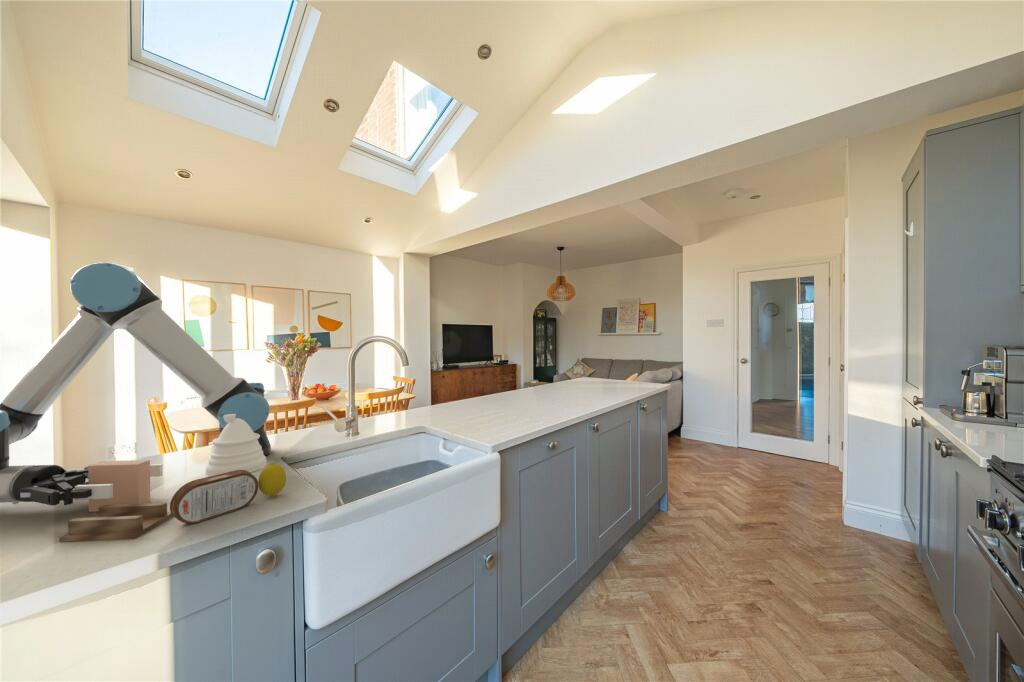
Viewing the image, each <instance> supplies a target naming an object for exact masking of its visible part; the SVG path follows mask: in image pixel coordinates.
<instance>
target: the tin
mask: <svg viewBox="0 0 1024 682" xmlns="http://www.w3.org/2000/svg"><path fill="white" fill-rule="evenodd" d="M258 491H259V485H258V480H257V479H256V477H255V476H253V475H252V474H251V473H250V472H248V471H246V470H235V471H231V472H227V473H223V474H218V475H214V476H210V477H206V476H205V477H202V478H197V479H194V480H191V481H189V482H187V483H185V484H183V485H182V486H181V487H179V489H178V490H176V491H175V493H174V494H173V496H172V498H171V500H170V504H169V512H171V514H172V515H173V517H174V518H175V519H176V520H178V521H179V522H181V523H184V524H198V523H201V521H202V522H204V521H208V520H210V519H214V518H217V517H220V515H221V516H223V515H227V514H229V513H233V512H236V511H239V510H242V509H244V508H246V507H247V506H248V505H249V504H251V502H252V501H253V500H254V499H255V497H256V496H257V494H258Z"/></svg>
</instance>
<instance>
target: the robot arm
mask: <svg viewBox="0 0 1024 682" xmlns="http://www.w3.org/2000/svg"><path fill="white" fill-rule="evenodd" d="M69 288H70V289H69V290H70V292H71V294H72V296H73V298H74V300H76V302H77V303H78V304H80V305H78V307H77V308H76V310H77V312H78V314H77V316H76V317H75V318H74V319H73V320H72V321H71V322H70V324H69V325H68V326H67V327H66V328H65V329H64V330H63V332H62V333H61V334H60V335H59V337H57V339H56V340H55V341H54V342H53V343H52V344H51V345H50V346H49V348H48V349H46V351H45V352H44V353H43V355H41V357H40V358H39V359H38V360H37V361H36V362H35V363H34V365H33V366H32V367H30V370H28V372H27V373H25V375H24V376H23V378H21V380H20V381H19V382H18V383H17V384H16V385H15V386H14V387H13V389H12V390H11V391H10V392H9V393H8V394H7V395H6V396H5V398H4V399H3V400H2V401H1V402H0V504H2V503H3V504H4V503H12V504H13V505H18V504H20V503H38V504H43V505H48V506H57V505H59V504H60V503H61V501H63V505H64V506H67V505H69V506H70V505H72V504H74V500H75V501H76V500H78V501H79V500H89V499H106V498H112V497H113V484H94V485H88V481H87V480H88V466H85V467H83V469H78V470H76V469H73V470H65V468H64V467H62V466H60V465H58V464H39V465H35V464H30V465H27V464H26V465H10V445H12V444H14V443H16V442H18V441H22V440H24V439H25V438H27V437H29V436H30V435H31V434H32V433H33V432H34V431H35V430H36V429H37V427H38V425H39V421H40V420H41V419H42V418H43V417H44V414H45V413H46V412H47V411H48V410H49V409H50V408H51V407H52V405H53V404H54V403H55V401H57V399H58V398H59V397H60V396H61V394H63V392H64V391H65V390H66V388H68V386H69V385H70V383H72V381H73V380H74V379H75V378H76V376H78V375H79V373H80V372H81V371H82V369H83V368H84V367H85V366H86V365H87V364H88V363H89V361H90V360H91V359H92V358H93V356H95V354H96V353H97V351H99V349H101V347H102V346H103V344H105V342H106V341H107V340H108V339H109V338H110V336H111V335H112V334H113V333H114V331H116V330H117V329H120V330H126V332H128V334H130V335H131V336H132V337H133V338H134V339H135V340H137V341H138V342H139V343H140V344H141V345H142V346H143V347H144V348H146V349H147V351H149V352H150V353H151V354H152V355H153V356H155V357H156V358H157V359H158V360H159V361H160V362H162V363H163V364H164V365H165V366H166V367H167V368H168V369H169V370H170V371H172V372H173V373H174V374H175V375H176V376H177V377H179V378H180V379H181V380H182V381H183V382H184V383H185V384H186V385H187V386H188V387H189V388H191V389H192V390H193V391H194V392H195V393H196V394H198V395H199V396H200V397H201V398H202V408H204V409H205V410H206V412H208V413H209V414H210V415H211V416H212V417H213V418H214V419H216V420H217V421H218V425H219V426H218V427H219V428H218V429H219V433H218V434H219V435H218V437H219V436H220V434H221V432H222V430H223V429H224V427H225V426H226V425H227V424H228V422H226V421H225V420H224V418H223V415H227V414H236V417H235V418H239V419H242V420H244V421H245V422H246V423H247V424H248V425H249V426H250V427H251V429H252V430H253V432H254V433H257V434H259V435H260V437H259V439H257V440H258V442H259V444H260V445H261V447H262V448H261V449H262V451H263V454H264V456H265V455H267V454H268V453H270V452H272V447H271V443H270V442H271V441H270V440H269V437H268V435H267V433H266V430H265V424H266V422H267V420H268V418H269V414H270V411H271V410H270V404H269V402H268V400H267V399H266V398H265V391H266V390H265V387H264V384H263V383H262V382H248V381H247V380H246V379H245V378H243V377H235V376H233V375H232V374H230V372H228V370H227V369H225V368H224V367H223V365H221V364H220V363H219V362H218V361H217V360H216V359H215V358H214V357H212V355H211V354H209V353H208V351H206V350H205V349H204V348H203V347H202V346H201V345H200V344H199V343H198V342H197V341H195V339H193V337H192V336H190V334H189V333H188V332H186V331H185V330H184V329H183V328H182V327H180V325H179V324H178V323H177V322H176V321H175V320H173V318H171V317H170V316H169V315H168V314H167V313H166V312H165V311H164V310H163V308H162V306H163V300H162V299H161V298H160V297H159V296H158V294H156V293H155V292H154V291H153V290H152V289H151V288H150V287H149V286H148V285H147V284H146V282H145V281H144V280H143V279H142V278H141V277H140V276H138V275H137V274H136V273H135V272H134V271H133V270H131V269H130V268H128V267H125V266H123V265H121V264H119V263H118V264H117V263H112V262H95V263H90V264H87V265H85V266H83V267H81V268H79V269H78V270H76V271H75V273H73V276H72V277H71V279H70V282H69ZM270 454H271V453H270ZM268 455H269V454H268ZM268 455H267V456H268ZM265 457H266V456H265ZM163 475H164V474H163V463H154V464H153V463H152V464H151V463H150V478H151V477H154V478H155V477H161V476H163Z"/></svg>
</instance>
